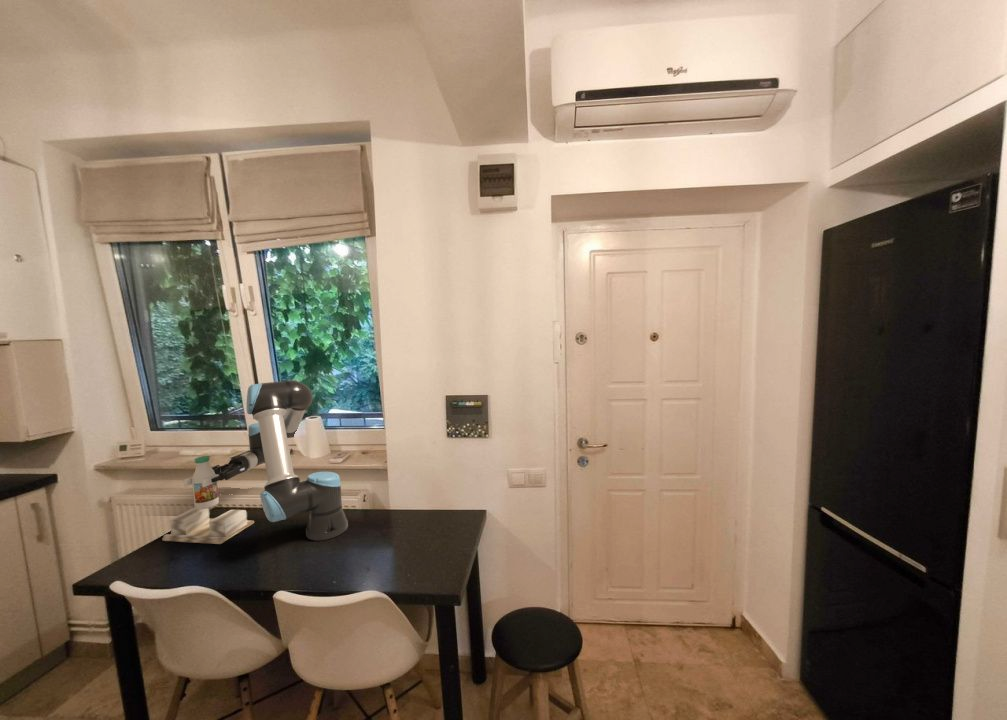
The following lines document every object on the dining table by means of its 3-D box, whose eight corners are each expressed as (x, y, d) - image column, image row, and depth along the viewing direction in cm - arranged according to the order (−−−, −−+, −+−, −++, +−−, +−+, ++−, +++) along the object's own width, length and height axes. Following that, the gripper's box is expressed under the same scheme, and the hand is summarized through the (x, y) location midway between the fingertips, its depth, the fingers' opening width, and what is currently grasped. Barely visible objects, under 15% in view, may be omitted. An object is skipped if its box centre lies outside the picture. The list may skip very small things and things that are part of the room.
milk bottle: (189, 509, 148) (184, 460, 146) (208, 500, 156) (203, 454, 154) (206, 510, 147) (200, 461, 145) (223, 501, 154) (218, 454, 153)
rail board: (254, 522, 158) (252, 506, 158) (220, 544, 142) (218, 526, 142) (201, 520, 162) (199, 504, 162) (162, 540, 146) (160, 523, 146)
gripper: (263, 472, 167) (217, 493, 145) (223, 470, 170) (172, 492, 148) (262, 455, 167) (215, 475, 144) (222, 454, 170) (170, 473, 147)
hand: (193, 483), depth 146 cm, fingers closed on milk bottle, 7 cm apart
